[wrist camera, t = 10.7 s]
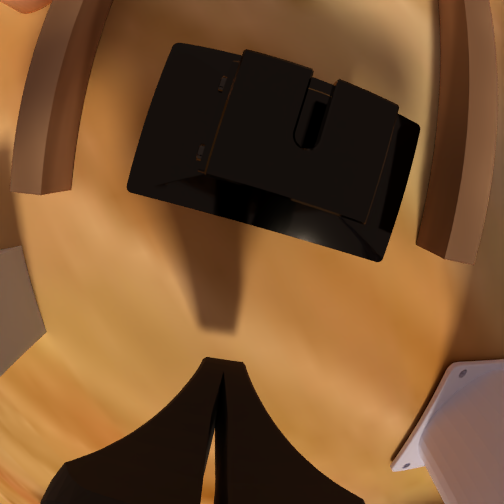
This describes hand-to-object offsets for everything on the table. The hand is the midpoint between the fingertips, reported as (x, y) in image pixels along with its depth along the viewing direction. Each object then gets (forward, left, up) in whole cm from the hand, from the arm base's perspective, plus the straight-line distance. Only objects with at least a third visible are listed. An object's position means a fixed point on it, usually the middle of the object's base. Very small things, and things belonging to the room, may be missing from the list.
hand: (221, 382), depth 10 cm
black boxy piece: (-1, -8, -2) cm, 8 cm away
